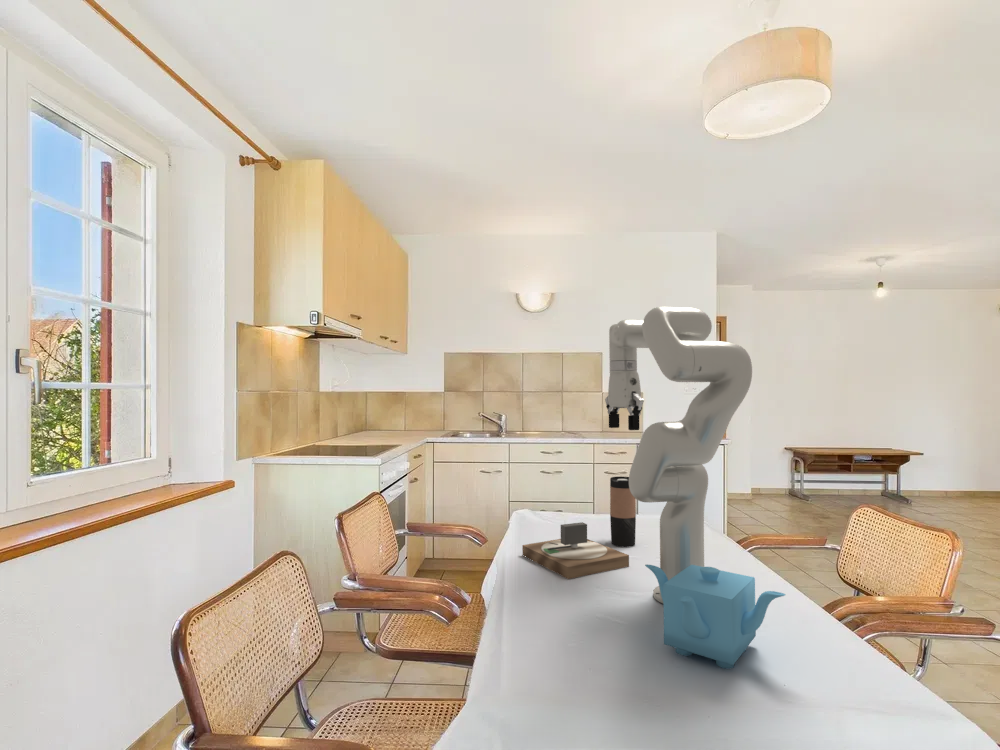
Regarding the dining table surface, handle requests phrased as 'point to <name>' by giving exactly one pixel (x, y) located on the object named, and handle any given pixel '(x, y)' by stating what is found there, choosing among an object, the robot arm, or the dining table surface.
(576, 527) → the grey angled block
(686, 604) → the teakettle
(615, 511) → the travel mug
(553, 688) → the dining table surface
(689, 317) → the robot arm
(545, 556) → the brown wooden flat block
